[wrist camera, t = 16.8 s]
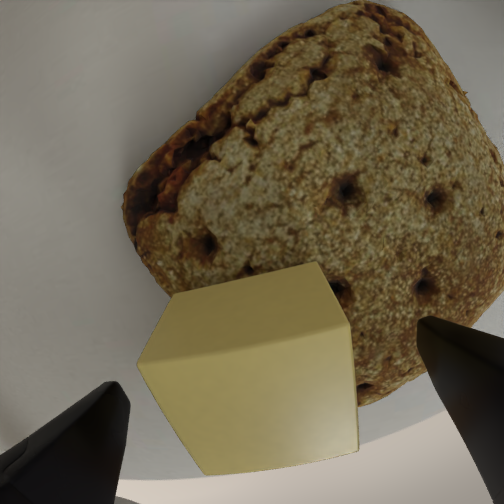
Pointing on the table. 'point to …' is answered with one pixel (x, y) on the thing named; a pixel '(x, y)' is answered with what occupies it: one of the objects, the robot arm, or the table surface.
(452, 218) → the pastry
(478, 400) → the robot arm
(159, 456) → the table surface
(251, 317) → the butter pat
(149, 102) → the table surface
